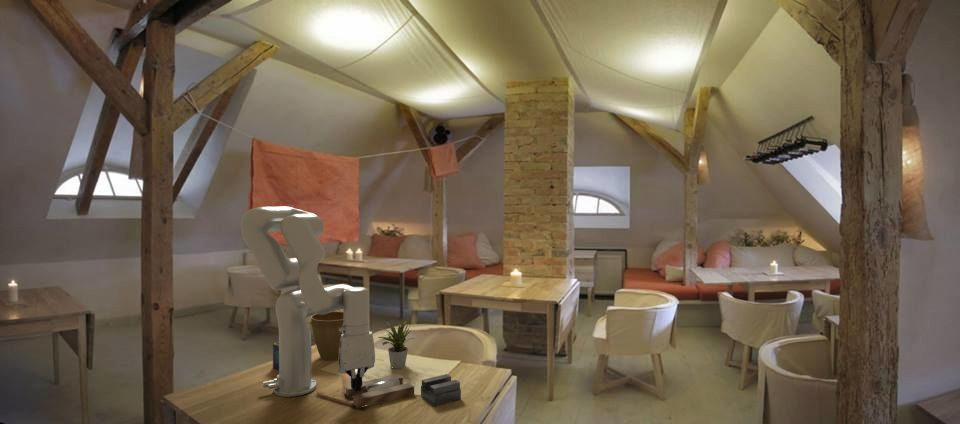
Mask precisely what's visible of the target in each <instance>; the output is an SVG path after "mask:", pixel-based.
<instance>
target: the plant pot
mask: <svg viewBox="0 0 960 424" xmlns="http://www.w3.org/2000/svg"><path fill="white" fill-rule="evenodd" d="M310 319H311V320H310V321H311V328H312V333H313V337H314V343H315V346H316V349H317V352H318V354H319V357H320V359H321V360H324V361H334V360H338V355H339V345H340V339H341V335H342V334H343V332H339V328H340V327H342V326H343V311H334V312H331V313H328V314H324V315H320V314H317V313H316V314H314V315H311V316H310Z"/></svg>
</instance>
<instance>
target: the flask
mask: <svg viewBox="0 0 960 424" xmlns="http://www.w3.org/2000/svg"><path fill="white" fill-rule="evenodd" d="M272 370H274V371H278V372H279V341H277V342H274V343H273V344H272Z"/></svg>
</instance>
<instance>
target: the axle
mask: <svg viewBox="0 0 960 424" xmlns="http://www.w3.org/2000/svg"><path fill="white" fill-rule="evenodd" d="M397 385H400V382H399V379H398V378H395V379H391V380H386V381H381V382H377V383H372V384H368V385H366V386H365V393H367V392H371V391H375V390H380V389H384V388H388V387H393V386H397Z"/></svg>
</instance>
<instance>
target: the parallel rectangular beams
mask: <svg viewBox="0 0 960 424" xmlns="http://www.w3.org/2000/svg"><path fill="white" fill-rule="evenodd" d="M395 378H398V379H399V382H400V385H397V386H393V387H388V388H384V389H380V390H375V391H371V392H367V393H365V386H366V385H368V384H372V383H377V382H381V381H386V380H391V379H395ZM346 395H347V396H348V397H351V398H353V399H352V401H353V403H354V404H355V406H354V407H355V408H356V409H357V410H358V409H362V408H361V407H362V406H365V405H368V406H367V407H370V406H371V407H372V406H374V405H375V406H376V405H378V404H382V403H386V402H389V401H394V400H399V399H402V398H406V397H407V398H408V397H411V396H414V395H415V385H413V384H412V383H411V382H406V383H404V377H403V376H402V375H401V374H400V373H398V374H393V375H389V376H383V377H380V378H379V377H377V378H375V379H371V380H365V381H362V386H361V391H356V392H355V391H354V390H353V388H346ZM346 395H345V396H346ZM347 396H346V397H347ZM352 396H353V397H352ZM348 397H347V398H348ZM354 404H353V405H354Z"/></svg>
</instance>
